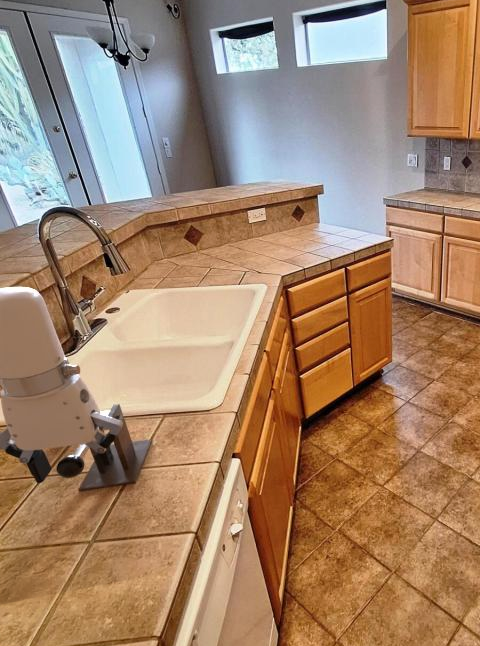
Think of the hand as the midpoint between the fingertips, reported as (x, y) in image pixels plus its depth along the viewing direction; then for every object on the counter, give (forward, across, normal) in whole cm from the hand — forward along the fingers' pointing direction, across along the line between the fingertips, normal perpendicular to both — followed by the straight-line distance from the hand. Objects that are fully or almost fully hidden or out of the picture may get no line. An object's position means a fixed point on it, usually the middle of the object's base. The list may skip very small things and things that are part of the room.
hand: (76, 471), depth 67 cm
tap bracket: (+10, 0, -12) cm, 16 cm away
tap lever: (0, 0, -5) cm, 5 cm away
